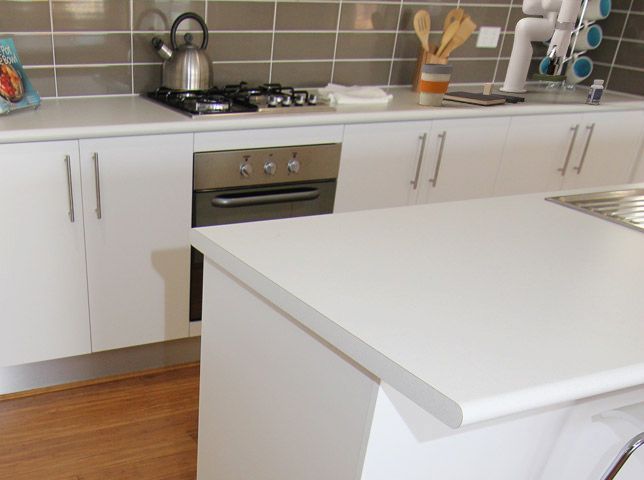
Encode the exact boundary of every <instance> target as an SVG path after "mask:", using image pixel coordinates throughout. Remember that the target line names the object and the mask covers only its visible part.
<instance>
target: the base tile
mask: <svg viewBox="0 0 644 480" xmlns="http://www.w3.org/2000/svg"><path fill="white" fill-rule="evenodd" d="M500 95H501V96H504V98H506V102H505V103H507V104H516V103H517V102H518V103H521V102H522V103H523V102H525V99H526V97H523V96H514V95H507V94H500ZM497 97H498V96H497Z"/></svg>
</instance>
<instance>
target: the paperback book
mask: <svg viewBox="0 0 644 480" xmlns="http://www.w3.org/2000/svg"><path fill="white" fill-rule="evenodd" d="M476 93H477V92H468V91H463V90H461V91H449V92H446V93H445V94H444V97H443V100H446V101H452V102H460V103H464V104H472V105H478V106H484V107H486V106H495V105H505V104H506V103H507V102H506V98H504V97H497V96H490V95H483V94H476Z"/></svg>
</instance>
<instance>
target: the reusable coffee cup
mask: <svg viewBox="0 0 644 480" xmlns="http://www.w3.org/2000/svg"><path fill="white" fill-rule="evenodd" d="M453 68H454V65H452V64H446V63H445V64H444V63H432V62H431V63H429V62H428V63H423V64H422V67H421V71H420V72H421V76H420V77H421V78H420V79H419V105H422V106H427V107H428V106H429V107H441V106H442V104H443V100H444V99H443V97H444V94H445V93H447V91H448V88H449V85H450V78H451V75H452V74H453Z"/></svg>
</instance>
